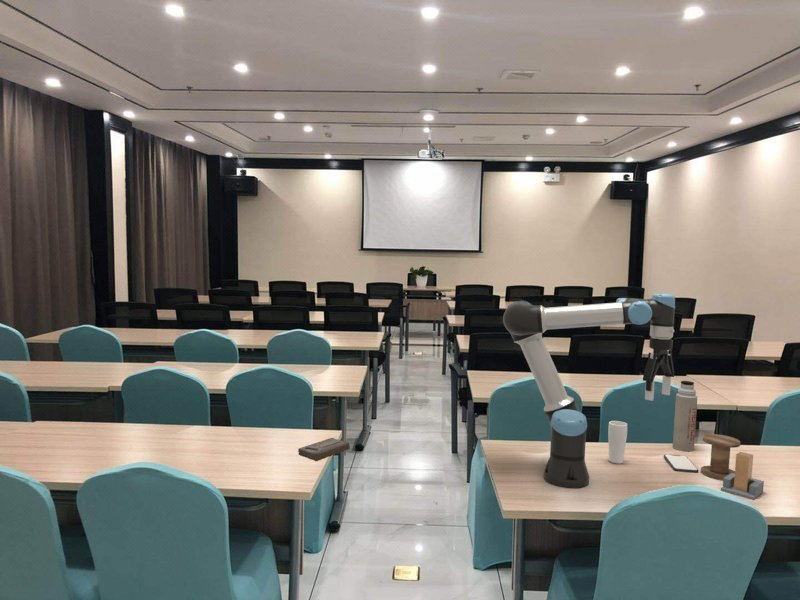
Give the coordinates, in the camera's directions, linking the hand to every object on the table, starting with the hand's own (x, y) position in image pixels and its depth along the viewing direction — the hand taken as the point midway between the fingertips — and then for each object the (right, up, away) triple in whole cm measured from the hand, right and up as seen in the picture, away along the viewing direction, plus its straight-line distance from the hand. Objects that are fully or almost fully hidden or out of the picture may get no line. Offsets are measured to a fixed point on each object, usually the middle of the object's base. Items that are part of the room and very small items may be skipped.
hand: (657, 397), depth 213 cm
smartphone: (+15, -29, +15) cm, 36 cm away
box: (-120, -25, +17) cm, 124 cm away
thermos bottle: (+26, -27, +35) cm, 51 cm away
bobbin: (+25, -29, +6) cm, 39 cm away
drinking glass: (-9, -28, +17) cm, 33 cm away
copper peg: (+24, -29, -10) cm, 39 cm away
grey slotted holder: (+24, -30, -10) cm, 40 cm away
